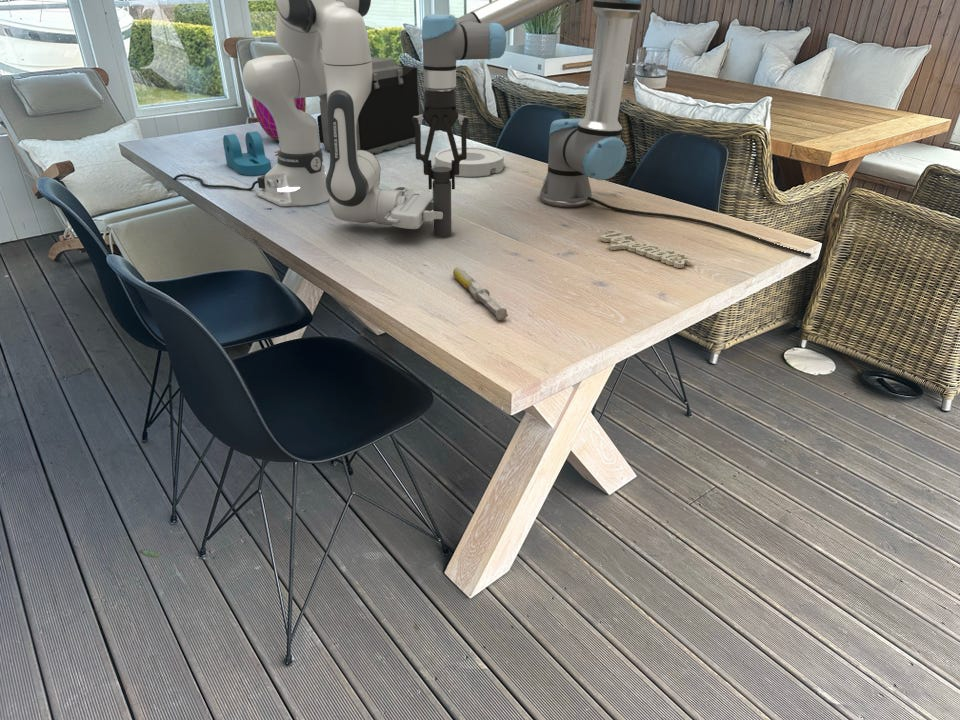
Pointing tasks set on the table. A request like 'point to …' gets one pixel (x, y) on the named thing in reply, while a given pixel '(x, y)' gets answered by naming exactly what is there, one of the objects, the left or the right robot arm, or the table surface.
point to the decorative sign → (644, 249)
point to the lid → (441, 173)
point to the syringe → (479, 293)
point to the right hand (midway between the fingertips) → (441, 187)
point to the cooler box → (383, 109)
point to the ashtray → (472, 161)
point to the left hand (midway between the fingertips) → (445, 211)
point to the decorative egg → (266, 117)
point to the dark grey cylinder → (442, 207)
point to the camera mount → (246, 154)
